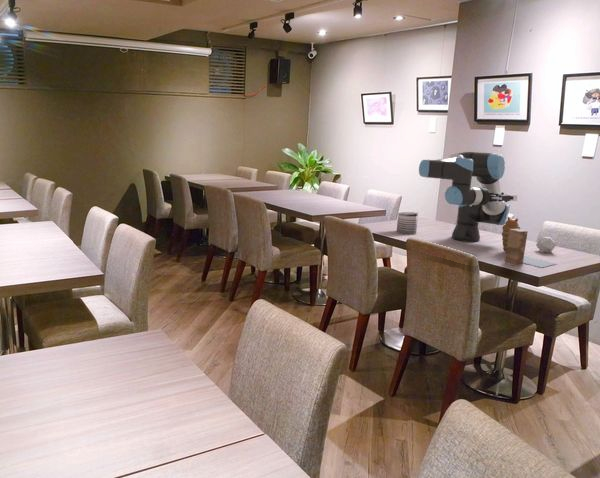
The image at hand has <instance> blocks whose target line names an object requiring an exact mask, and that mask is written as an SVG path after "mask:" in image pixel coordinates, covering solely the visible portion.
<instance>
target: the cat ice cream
mask: <svg viewBox="0 0 600 478" xmlns="http://www.w3.org/2000/svg"><path fill="white" fill-rule="evenodd" d="M518 222H519V218H515V219H514V218H511V217H510V216H508V217H507V221H506V223H505V225H502V232H501V236H502V249H503V251H504V252H505V253H506V249H507V242H508V235H509V229H521V227H520V226H519V223H518Z"/></svg>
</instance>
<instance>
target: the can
mask: <svg viewBox="0 0 600 478" xmlns="http://www.w3.org/2000/svg"><path fill="white" fill-rule="evenodd" d="M418 214H419V212H413V211H404V212H398V213H397V222H396V223H397V224H396V233H398V234H401V235H405V236H407V235H408V236H411V235H413V236H414V235H416V234H417V228H418V221H419V220H418V218H419V215H418Z"/></svg>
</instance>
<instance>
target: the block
mask: <svg viewBox="0 0 600 478" xmlns="http://www.w3.org/2000/svg"><path fill="white" fill-rule="evenodd" d="M528 232H529V231H528V230H524V229H521V228H520V229H509V235H508V242H507V249H506V252H505V258H504V263H505V264H509V265H511V266H523V264H524V263H523V259H524V256H525V252H526V251H525V250H526V245H527V238H528Z"/></svg>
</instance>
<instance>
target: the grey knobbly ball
mask: <svg viewBox="0 0 600 478" xmlns="http://www.w3.org/2000/svg"><path fill="white" fill-rule="evenodd" d="M535 246H536V247H537V248H538V250H539V251H540V253H545V254H547V253H550V254H551V253H552V252H553V251H554V249H555V247H556V246H557V243H556V242H555V241H554V239H552V237H551V236H540V237H539V239H538V241H537V242H536V244H535Z"/></svg>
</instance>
